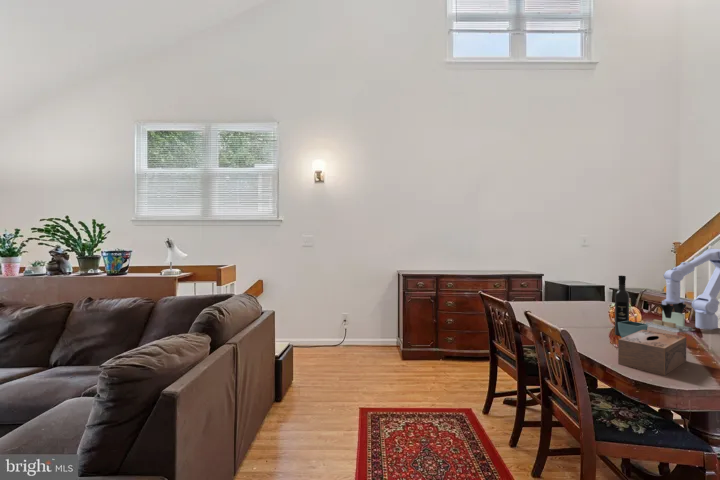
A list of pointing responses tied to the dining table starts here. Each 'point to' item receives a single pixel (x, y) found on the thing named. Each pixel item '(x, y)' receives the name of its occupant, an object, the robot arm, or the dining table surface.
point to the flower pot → (630, 327)
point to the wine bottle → (621, 304)
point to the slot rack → (677, 329)
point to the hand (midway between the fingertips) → (673, 317)
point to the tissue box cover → (652, 351)
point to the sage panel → (675, 318)
